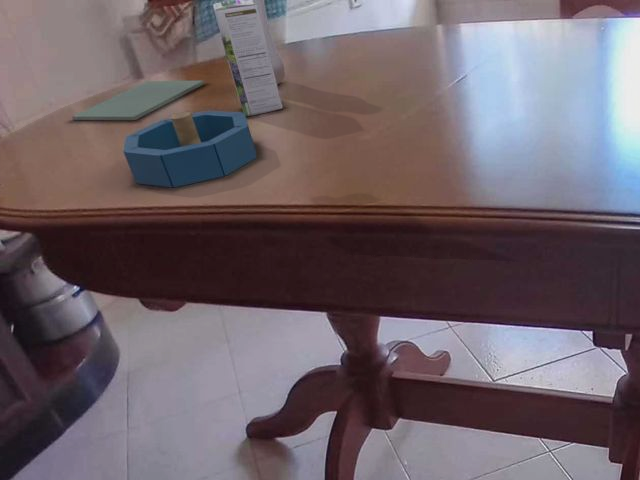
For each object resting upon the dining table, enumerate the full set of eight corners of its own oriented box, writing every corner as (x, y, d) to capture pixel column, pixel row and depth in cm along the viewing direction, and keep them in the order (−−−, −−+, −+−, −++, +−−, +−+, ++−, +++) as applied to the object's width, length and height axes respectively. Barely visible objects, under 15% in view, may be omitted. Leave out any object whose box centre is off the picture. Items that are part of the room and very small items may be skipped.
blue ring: (134, 196, 81) (120, 163, 79) (139, 156, 93) (127, 126, 90) (260, 168, 85) (251, 136, 82) (250, 133, 96) (241, 103, 94)
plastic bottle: (294, 79, 117) (259, -59, 105) (277, 91, 111) (239, -52, 99) (258, 80, 118) (220, -55, 106) (240, 93, 113) (198, -48, 101)
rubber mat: (135, 120, 106) (133, 116, 106) (73, 120, 110) (71, 116, 109) (204, 83, 120) (203, 80, 119) (147, 84, 123) (146, 81, 123)
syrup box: (241, 107, 106) (209, 3, 98) (279, 99, 108) (252, -4, 99) (245, 117, 102) (212, 9, 93) (285, 109, 103) (256, 1, 95)
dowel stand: (164, 180, 85) (145, 131, 81) (165, 159, 91) (147, 112, 87) (231, 165, 87) (215, 117, 83) (227, 145, 93) (212, 99, 89)
